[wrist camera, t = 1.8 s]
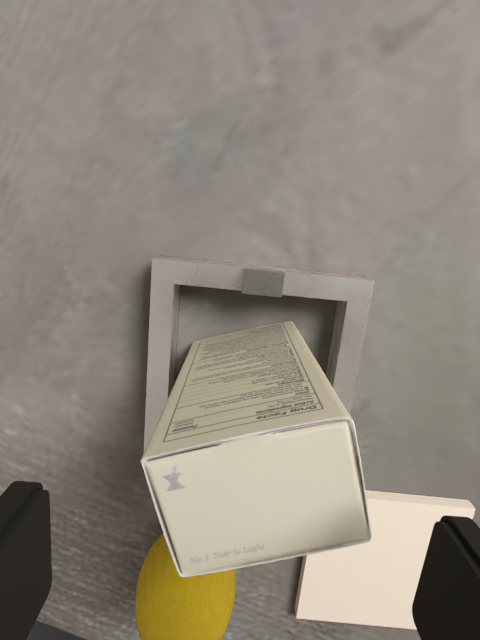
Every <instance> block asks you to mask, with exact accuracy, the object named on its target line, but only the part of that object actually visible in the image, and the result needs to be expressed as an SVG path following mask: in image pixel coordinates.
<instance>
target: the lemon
mask: <svg viewBox="0 0 480 640" xmlns="http://www.w3.org/2000/svg"><path fill="white" fill-rule="evenodd" d="M234 598H235V569H231V570H226V571H221V572H215V573H209V574H203V575H195V576H190V577H181V576H179V574H178V573H177V570H176V567H175V564H174V562H173V559H172V556H171V554H170V551H169V548H168V545H167V542H166V540H165V537H164V534H162V535H161V536H160V537H159V538H158V539H157V540H156V542H155V543H154V544H153V545H152V547H151V548H150V550H149V552H148V554H147V556H146V558H145V560H144V563H143V565H142V568H141V571H140V574H139V577H138V582H137V589H136V602H135V617H136V623H137V627H138V631H139V634H140V637H141V639H142V640H220V639H221V638H222V636H223V634H224V632H225V630H226V627H227V625H228V622H229V618H230V615H231V612H232V608H233V604H234Z"/></svg>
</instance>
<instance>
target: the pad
mask: <svg viewBox="0 0 480 640" xmlns="http://www.w3.org/2000/svg"><path fill="white" fill-rule="evenodd" d="M365 491H366V498H367V506H368V512H369V521H370V527H371V534H372V538H371V540H370V541H369V542H367V543H363V544H358V545H353V546H349V547H344V548H339V549H334V550H328V551H324V552H320V553H315V554H310V555H304V556H303V561H302V567H301V573H300V578H299V584H298V590H297V596H296V602H295V613H296V618H299V619H309V620H320V621H331V622H342V623H353V624H363V625H374V626H385V627H396V628H406V629H417V628H416V626H415V623H414V620H413V615H412V605H413V601H414V597H415V593H416V590H417V586H418V582H419V579H420V575H421V571H422V567H423V564H424V560H425V556H426V553H427V549H428V545H429V542H430V538H431V534H432V530H433V527H434V524H435V523H436V522H437V521H440V520H441V518H442V517H443V516H446V515H447V516H460V517H468V518H471V519H473V516H474V512H475V508H474V506H473V505H472V504H471V503H470V501H469V500H463V499H452V498H442V497H432V496H421V495H411V494H400V493H390V492H379V491H369V490H365Z"/></svg>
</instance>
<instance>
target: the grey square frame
mask: <svg viewBox="0 0 480 640" xmlns="http://www.w3.org/2000/svg"><path fill="white" fill-rule="evenodd" d="M374 283H375V281H374V280H372V279H370V278H367V277H365V276H360V275H350V274H340V273H330V272H320V271H311V270H301V269H291V268H281V267H271V266H261V265H251V264H241V263H232V262H222V261H212V260H202V259H192V258H182V257H172V256H162V255H160V256H157V257H154V258H152V271H151V294H150V317H149V340H148V363H147V386H146V409H145V432H144V452H145V450H146V447H147V445H148V443H149V440H150V438H151V436H152V434H153V432H154V430H155V427H156V425H157V423H158V420H159V418H160V416H161V413H162V411H163V409H164V407H165V404H166V402H167V400H168V397H169V395H170V393H171V391H172V389H173V386H174V379H175V362H176V346H177V330H178V314H179V298H180V285H189V286H199V287H209V288H219V289H229V290H239V291H242V294H252V295H262V296H272V297H282V295H289V296H299V297H309V298H319V299H329V300H338V301H337V307H336V313H335V319H334V326H333V332H332V338H331V344H330V350H329V356H328V362H327V368H326V375H325V376H326V377H327V379H328V381H329V382H330V384H331V386H332V387H333V389H334V390H335V392H336V394H337V395H338V397H339V399H340V400H341V402H342V403H343V405H344V407H345V408H346V410H347V412H348V413H349V415H350V413H351V408H352V402H353V397H354V391H355V386H356V380H357V375H358V370H359V364H360V359H361V353H362V348H363V343H364V337H365V332H366V326H367V321H368V315H369V310H370V305H371V299H372V294H373V288H374Z"/></svg>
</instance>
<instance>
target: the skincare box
mask: <svg viewBox="0 0 480 640" xmlns="http://www.w3.org/2000/svg"><path fill="white" fill-rule="evenodd" d="M141 464H142V467H143V470H144V473H145V476H146V480H147V484H148V486H149V490H150V493H151V496H152V500H153V502H154V507H155V509H156V512H157V515H158V518H159V521H160V524H161V527H162V530H163V534H164V537H165V540H166V542H167V545H168V548H169V551H170V554H171V556H172V559H173V562H174V564H175V567H176V570H177V573H178V574H179V576H181V577H190V576H195V575H203V574H209V573H215V572H221V571H226V570H231V569H237V568H242V567H247V566H253V565H258V564H264V563H270V562H273V561H278V560H284V559H291V558H293V557H298V556H304V555H310V554H315V553H320V552H324V551H328V550H334V549H339V548H344V547H349V546H353V545H358V544H363V543H367V542H369V541H370V540H371V538H372V534H371V527H370V521H369V512H368V506H367V498H366V491H365V485H364V478H363V472H362V465H361V458H360V453H359V447H358V441H357V436H356V430H355V425H354V421H353V419H352V418H351V416H350V415H349V413H348V412H347V410H346V408H345V407H344V405H343V403H342V402H341V400H340V399H339V397H338V395H337V394H336V392H335V390H334V389H333V387H332V386H331V384H330V382H329V381H328V379H327V377H326V376H325V374H324V372H323V370H322V369H321V367H320V365H319V364H318V362H317V361H316V359H315V357H314V356H313V354H312V352H311V351H310V349H309V348H308V346H307V344H306V343H305V341H304V339H303V337H302V336H301V334H300V332H299V331H298V329H297V328H296V326H295V324H294V323H293V322H292V321H286V322H281V323H276V324H270V325H265V326H260V327H255V328H251V329H245V330H241V331H236V332H232V333H227V334H222V335H218V336H214V337H209V338H205V339H201V340H197V341H194V342H193V343H192V345H191V347H190V350H189V352H188V354H187V357H186V359H185V361H184V364H183V366H182V368H181V370H180V373H179V375H178V377H177V379H176V382H175V384H174V386H173V389H172V391H171V393H170V395H169V397H168V400H167V402H166V404H165V407H164V409H163V411H162V413H161V416H160V418H159V420H158V423H157V425H156V427H155V430H154V432H153V434H152V436H151V438H150V440H149V443H148V445H147V447H146V450H145V452H144V454H143V456H142V459H141Z"/></svg>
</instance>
